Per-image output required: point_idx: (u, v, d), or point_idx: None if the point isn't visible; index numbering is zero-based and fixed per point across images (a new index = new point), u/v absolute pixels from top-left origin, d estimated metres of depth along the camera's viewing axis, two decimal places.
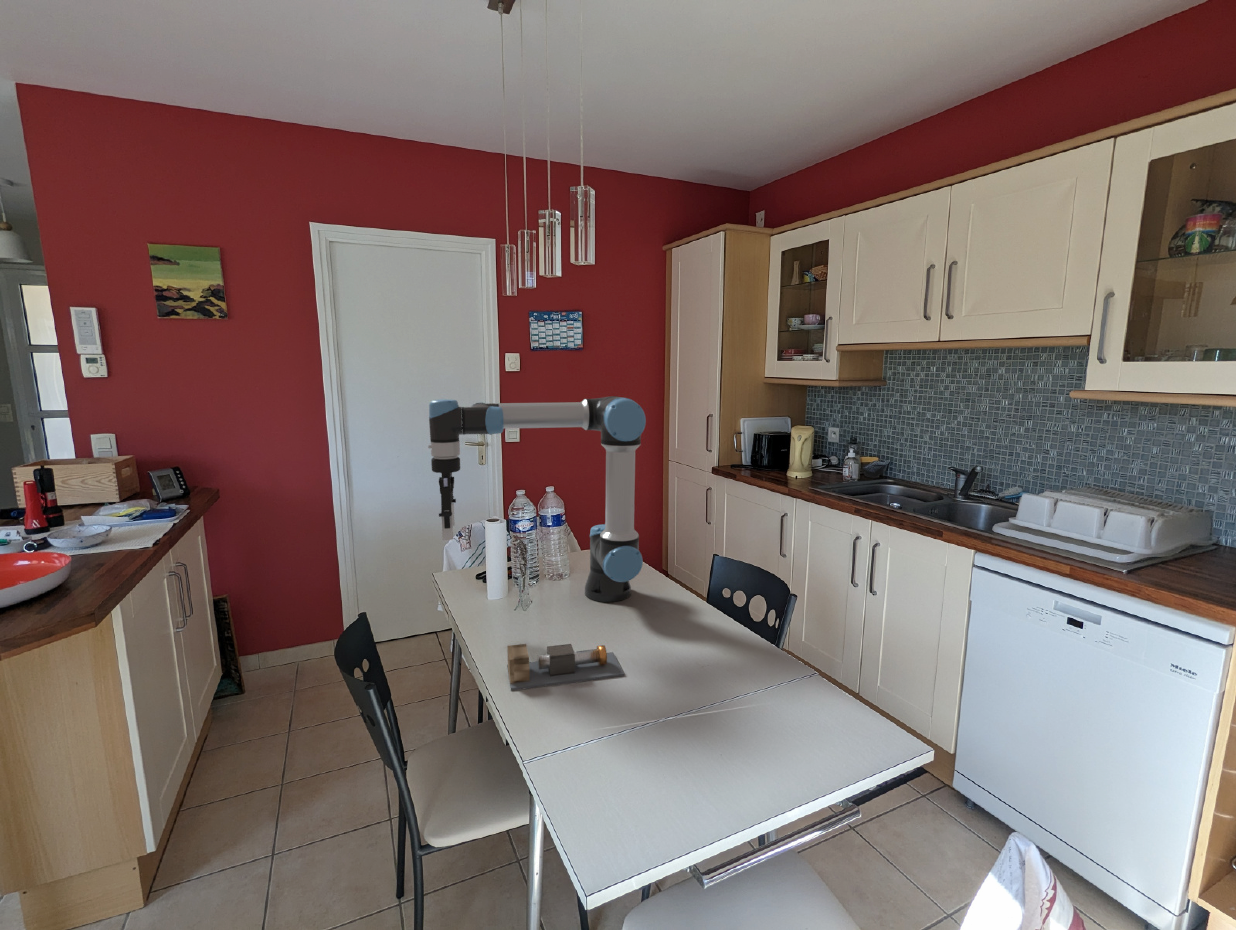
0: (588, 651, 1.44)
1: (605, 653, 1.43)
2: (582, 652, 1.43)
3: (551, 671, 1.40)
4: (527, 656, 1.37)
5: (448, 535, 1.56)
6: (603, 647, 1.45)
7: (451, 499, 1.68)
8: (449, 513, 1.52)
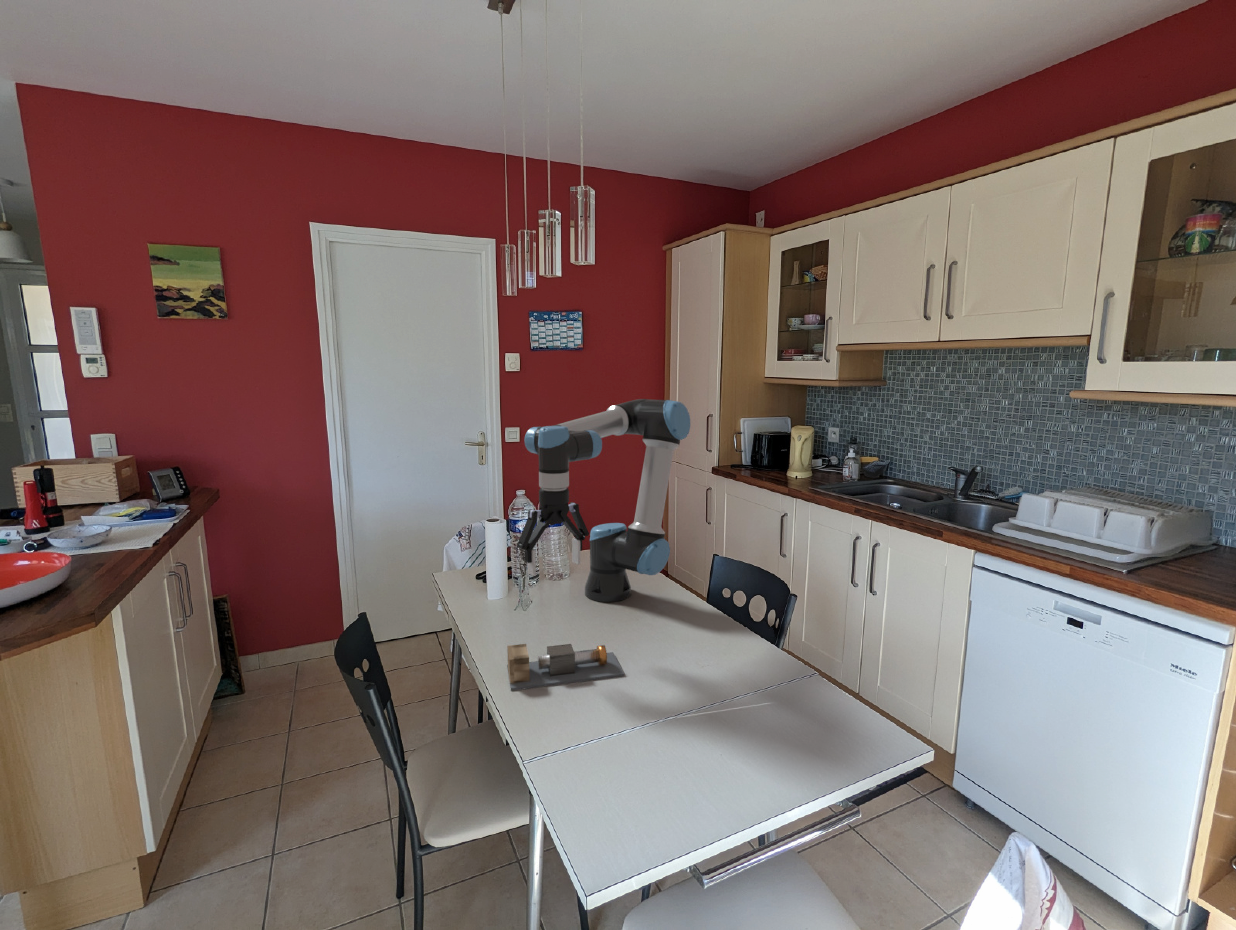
0: (588, 651, 1.44)
1: (605, 653, 1.43)
2: (582, 652, 1.43)
3: (551, 671, 1.40)
4: (527, 656, 1.37)
5: (530, 569, 1.46)
6: (603, 647, 1.45)
7: (576, 535, 1.53)
8: (521, 547, 1.43)
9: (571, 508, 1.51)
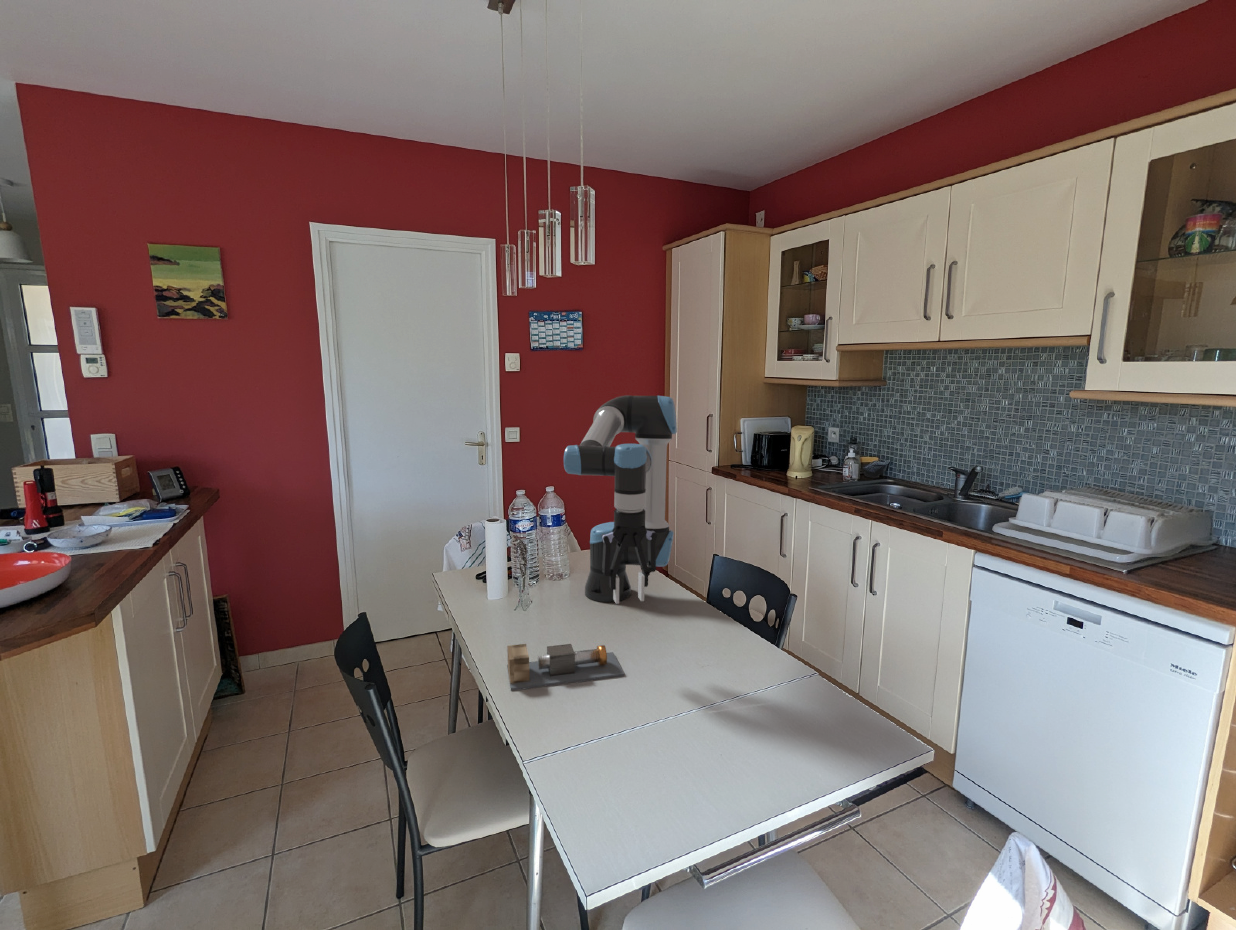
0: (588, 651, 1.44)
1: (605, 653, 1.43)
2: (582, 652, 1.43)
3: (551, 671, 1.40)
4: (527, 656, 1.37)
5: (615, 597, 1.43)
6: (603, 647, 1.45)
7: (642, 568, 1.43)
8: (604, 573, 1.41)
9: (648, 535, 1.43)
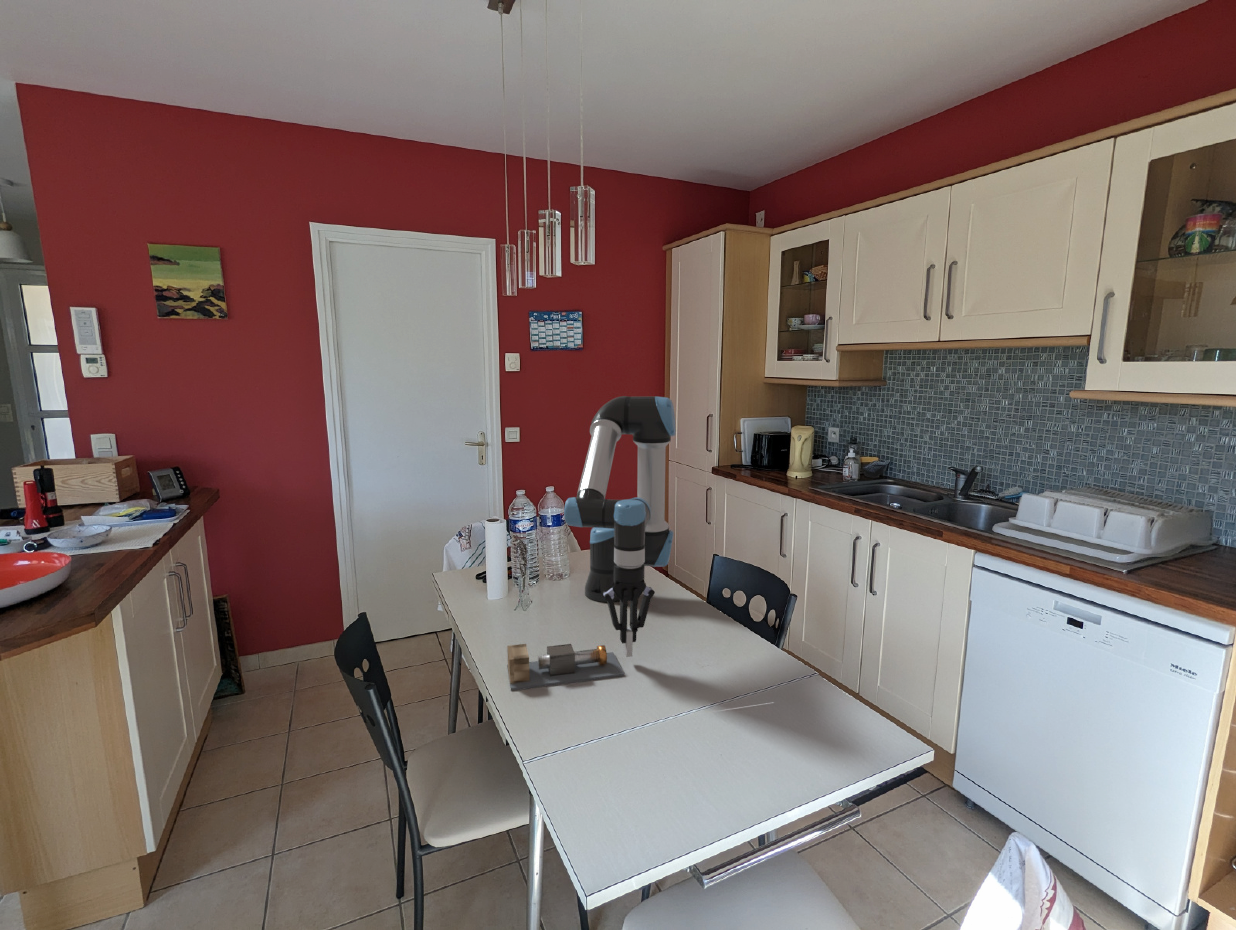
0: (588, 651, 1.44)
1: (605, 653, 1.43)
2: (582, 652, 1.43)
3: (551, 671, 1.40)
4: (527, 656, 1.37)
5: (625, 650, 1.46)
6: (603, 647, 1.45)
7: (632, 623, 1.45)
8: (615, 628, 1.44)
9: (646, 590, 1.45)
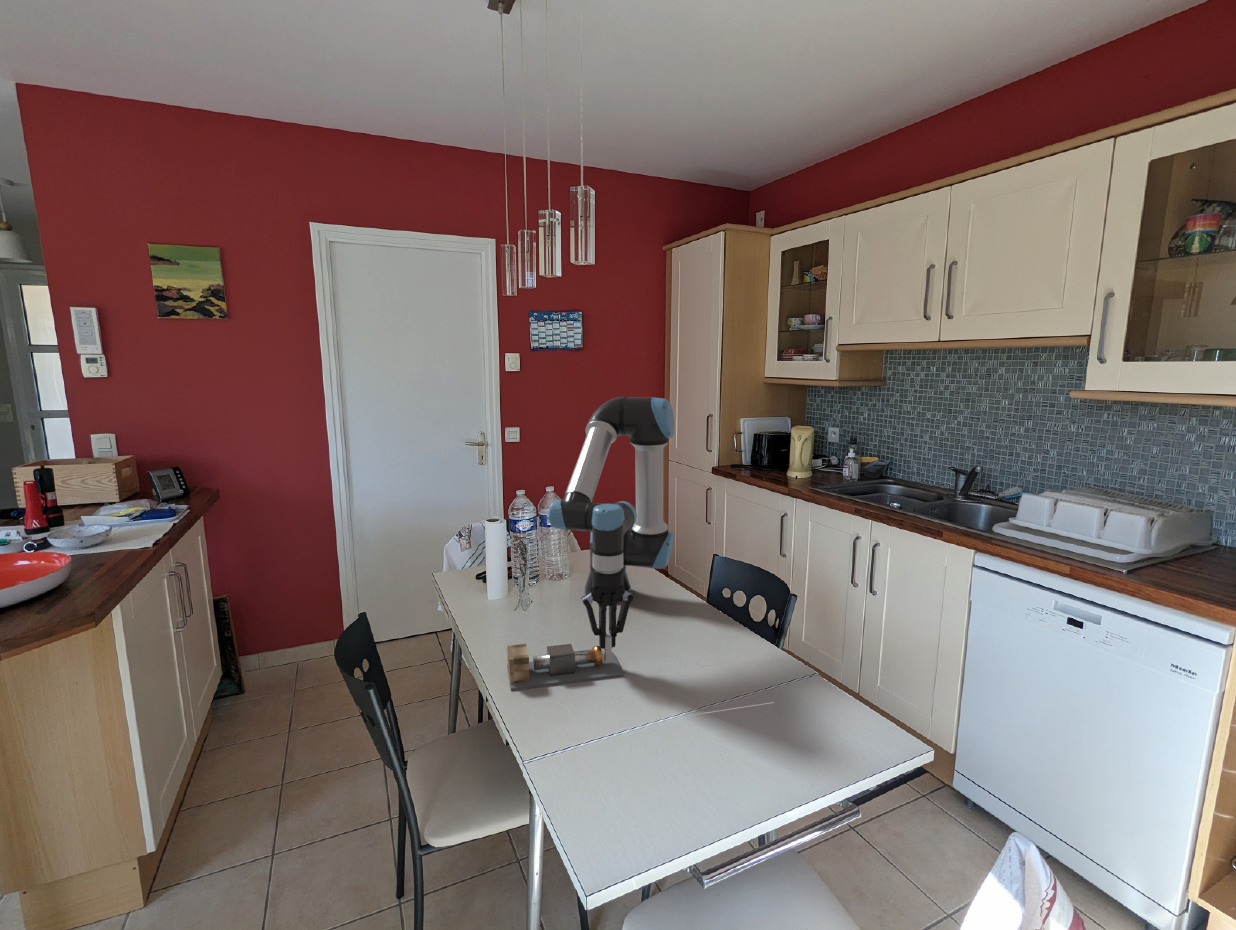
0: (583, 652, 1.44)
1: (600, 654, 1.43)
2: (577, 653, 1.43)
3: (551, 671, 1.40)
4: (527, 656, 1.37)
5: (604, 655, 1.45)
6: (598, 648, 1.44)
7: (611, 628, 1.44)
8: (594, 633, 1.43)
9: (625, 595, 1.44)
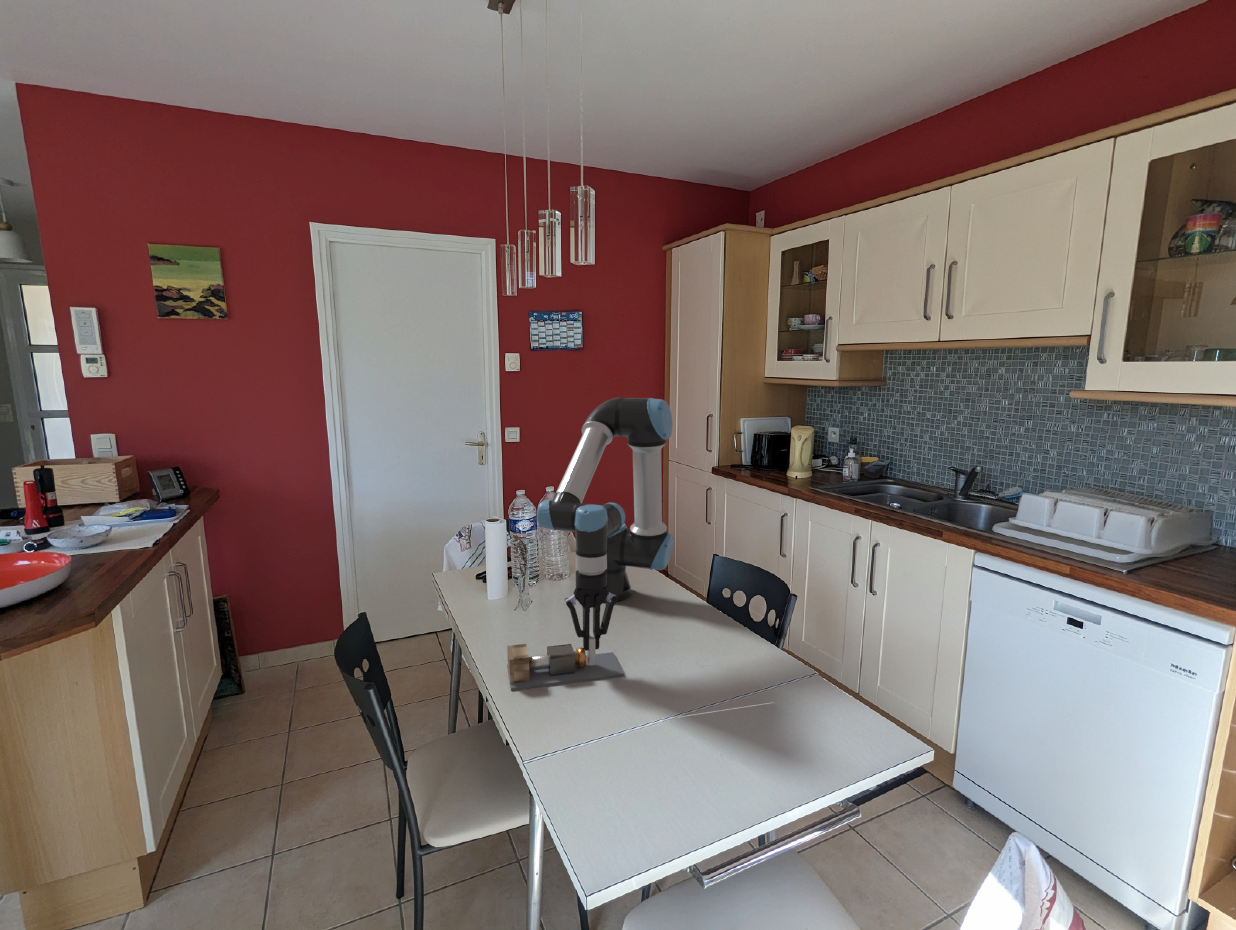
0: None
1: (584, 656, 1.42)
2: None
3: (551, 671, 1.40)
4: (527, 656, 1.37)
5: (588, 657, 1.44)
6: (582, 649, 1.43)
7: (594, 629, 1.43)
8: (577, 635, 1.42)
9: (609, 597, 1.43)
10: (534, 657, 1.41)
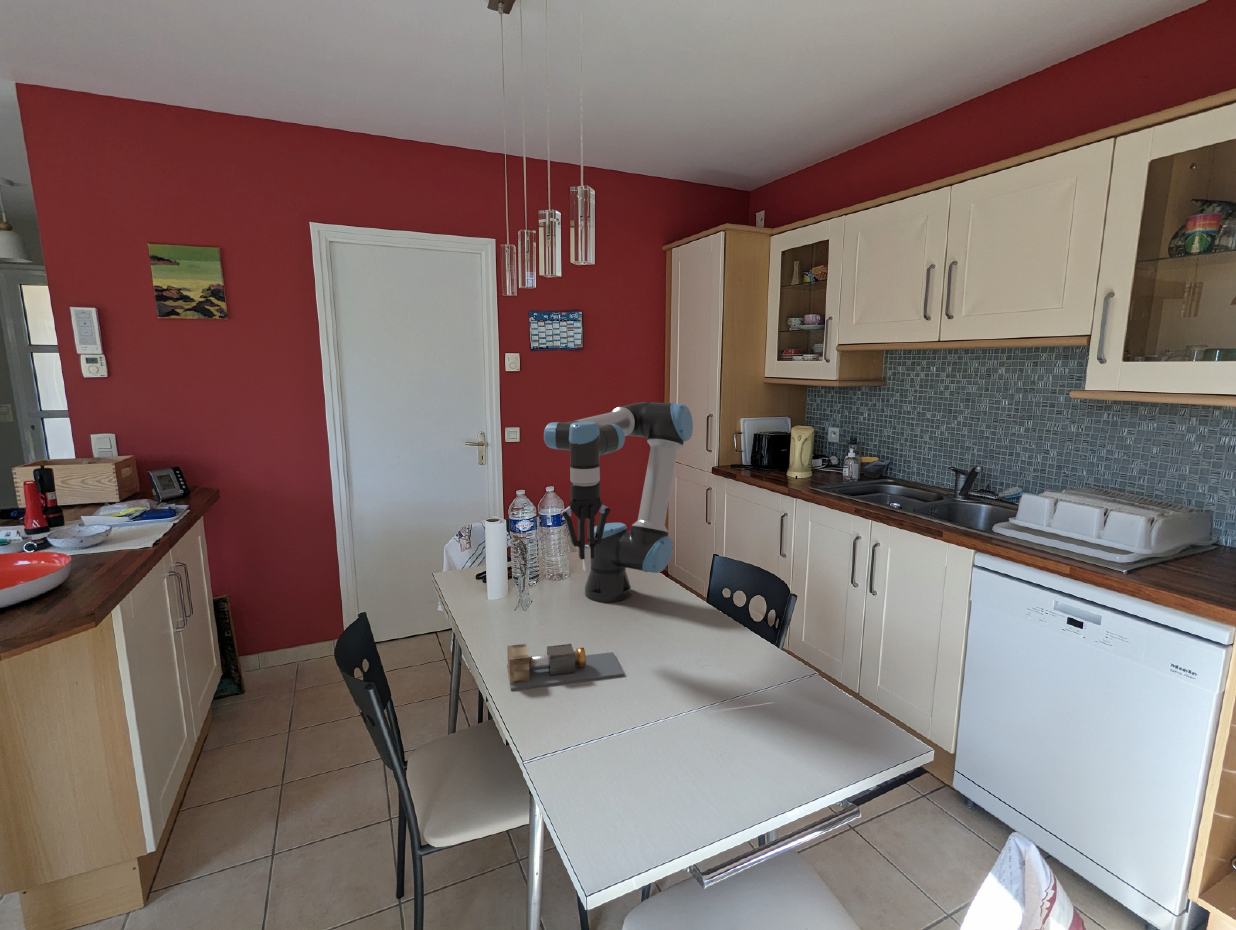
0: None
1: (584, 656, 1.42)
2: None
3: (551, 671, 1.40)
4: (527, 656, 1.37)
5: (584, 566, 1.54)
6: (582, 649, 1.43)
7: (589, 539, 1.52)
8: None
9: (602, 508, 1.52)
10: (534, 657, 1.41)
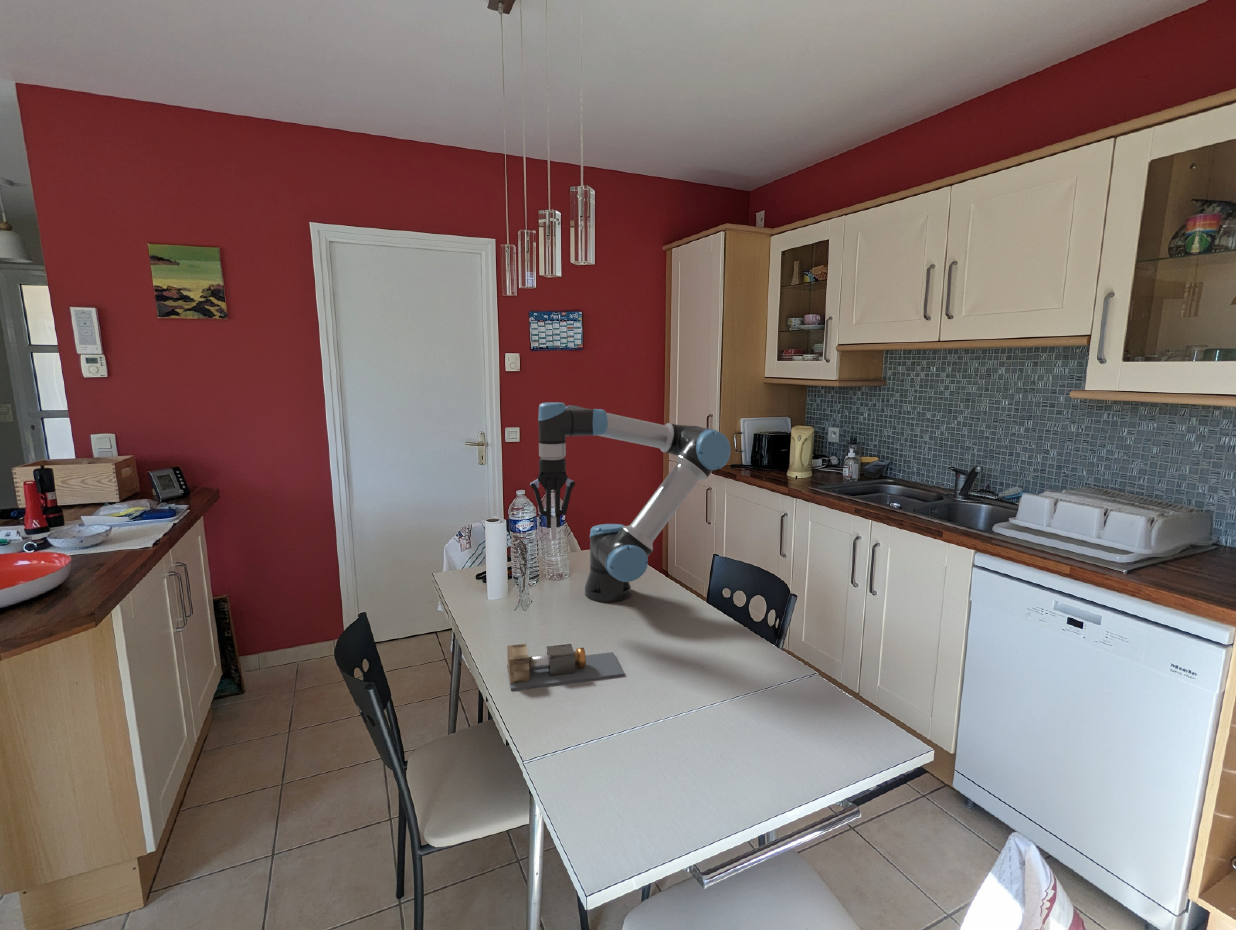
0: None
1: (584, 656, 1.42)
2: None
3: (551, 671, 1.40)
4: (527, 656, 1.37)
5: (550, 534, 1.69)
6: (582, 649, 1.43)
7: (555, 510, 1.67)
8: (541, 514, 1.66)
9: (568, 482, 1.67)
10: (534, 657, 1.41)
